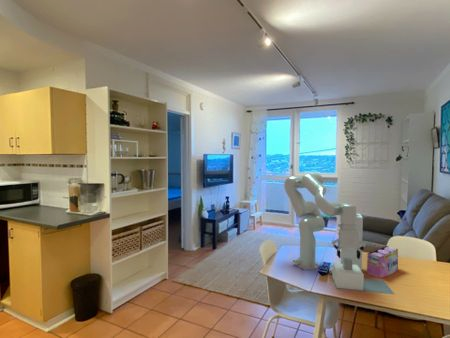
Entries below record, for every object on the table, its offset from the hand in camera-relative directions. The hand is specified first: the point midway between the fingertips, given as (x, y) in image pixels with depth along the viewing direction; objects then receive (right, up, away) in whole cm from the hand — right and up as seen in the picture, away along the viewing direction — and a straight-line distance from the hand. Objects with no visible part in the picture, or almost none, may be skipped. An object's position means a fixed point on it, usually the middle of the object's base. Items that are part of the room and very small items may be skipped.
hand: (348, 257), depth 151 cm
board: (+7, -16, 0) cm, 17 cm away
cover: (0, -14, +1) cm, 15 cm away
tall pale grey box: (+10, -15, +20) cm, 26 cm away
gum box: (+29, -15, +17) cm, 37 cm away
